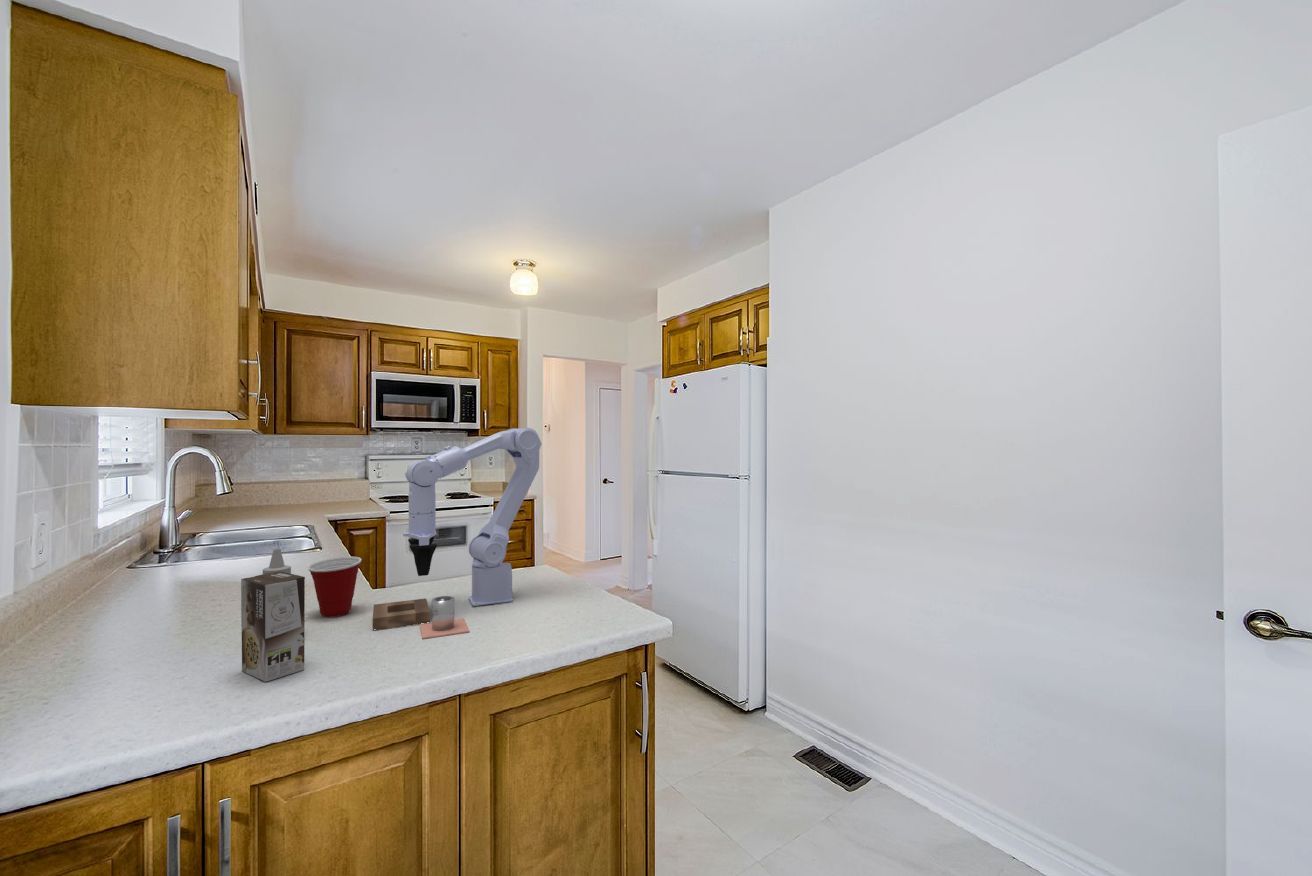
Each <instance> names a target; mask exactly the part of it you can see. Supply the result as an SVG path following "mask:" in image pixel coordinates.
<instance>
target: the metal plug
mask: <svg viewBox="0 0 1312 876" xmlns="http://www.w3.org/2000/svg"><path fill="white" fill-rule="evenodd" d="M454 620H455V597H454V596H452V595H443V596H437V597H434V598H432V599H431V623H432V630H433V631H446V630H450V629H452V628H454Z"/></svg>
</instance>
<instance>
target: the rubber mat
mask: <svg viewBox="0 0 1312 876" xmlns="http://www.w3.org/2000/svg"><path fill="white" fill-rule="evenodd" d="M419 629H420V634H421V639H422V640H427V639H433V637H435V638H441V637H446V636H454V635H460V634H467V633H470V631H471V630H470V629H469V625H468V624H467V622H466V619H465V617H464V618H454V628H452V629H450V630H446V631H433V630H432V622H430V623H425V624H419ZM440 636H441V637H440Z"/></svg>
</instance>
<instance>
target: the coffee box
mask: <svg viewBox="0 0 1312 876" xmlns="http://www.w3.org/2000/svg"><path fill="white" fill-rule="evenodd" d="M305 580H306V577H305V576H302V575H299V574H293V573H291V574H290V573H285V572H281V571H278V572H272V573H267V574H263V573H262V574H259V575H255V576H251V577H246V578H245V577H244V578H241V580H240V582H241V583H240V584H241V585H240V593H241V594H240V596H241V597H240V599H241V600H240V602H241V604H240V609H241V611H240V612H241V614H240V615H241V616H240V617H241V622H240V623H241V625H240V626H241V672H243V673H245V674H248V675H250V676H252V677H254V678H256V679H258V680H261V681H262V682H265V683H266V682H270V681H274V680H276V679H279V678H282V677H285V676H289V675H292V674H294V673H295V674H296V673H298V672H302V671H304V670H305V622H306V621H305V616H306V615H305V610H306V609H305V597H306V596H305V594H306V592H305V591H306V590H305V588H306V587H305V583H306V581H305Z"/></svg>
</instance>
